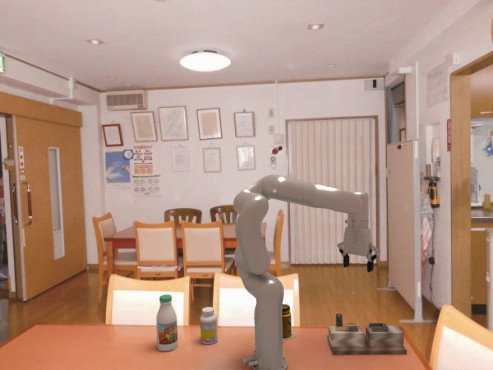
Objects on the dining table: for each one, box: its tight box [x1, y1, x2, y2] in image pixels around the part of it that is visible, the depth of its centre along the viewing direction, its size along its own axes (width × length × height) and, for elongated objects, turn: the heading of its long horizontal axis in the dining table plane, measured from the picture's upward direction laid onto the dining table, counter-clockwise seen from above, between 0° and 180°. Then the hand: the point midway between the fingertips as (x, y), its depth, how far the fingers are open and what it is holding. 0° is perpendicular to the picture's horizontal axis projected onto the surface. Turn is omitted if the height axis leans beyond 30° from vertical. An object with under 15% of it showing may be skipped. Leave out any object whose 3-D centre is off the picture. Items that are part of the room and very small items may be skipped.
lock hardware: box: [347, 322, 389, 332], centre depth 140 cm, size 14×4×2 cm, turn 88°
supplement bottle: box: [199, 306, 219, 345], centre depth 148 cm, size 7×7×13 cm
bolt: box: [334, 313, 359, 330], centre depth 141 cm, size 8×2×6 cm, turn 87°
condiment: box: [282, 303, 297, 341], centre depth 151 cm, size 7×8×12 cm
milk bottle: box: [155, 293, 179, 352], centre depth 144 cm, size 8×8×20 cm
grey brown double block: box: [326, 325, 408, 356], centre depth 141 cm, size 26×12×6 cm, turn 87°
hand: (357, 268), depth 143 cm, fingers open, 9 cm apart
